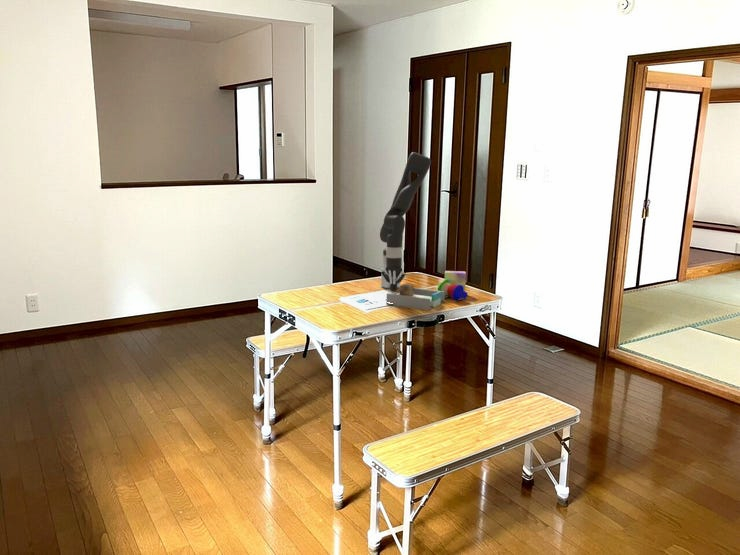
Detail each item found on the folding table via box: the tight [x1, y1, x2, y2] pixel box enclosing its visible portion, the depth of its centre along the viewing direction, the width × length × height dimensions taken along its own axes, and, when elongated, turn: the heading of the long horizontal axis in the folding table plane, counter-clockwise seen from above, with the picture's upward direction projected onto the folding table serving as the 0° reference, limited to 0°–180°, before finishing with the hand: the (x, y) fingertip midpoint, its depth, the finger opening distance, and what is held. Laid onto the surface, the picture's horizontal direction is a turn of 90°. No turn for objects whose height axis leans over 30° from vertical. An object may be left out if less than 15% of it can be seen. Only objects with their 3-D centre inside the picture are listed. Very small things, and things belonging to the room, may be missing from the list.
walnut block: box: [399, 283, 415, 296], centre depth 298 cm, size 5×5×5 cm
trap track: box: [386, 287, 446, 311], centre depth 297 cm, size 22×18×6 cm
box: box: [444, 270, 467, 292], centre depth 313 cm, size 10×6×12 cm, turn 84°
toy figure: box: [437, 279, 468, 302], centre depth 304 cm, size 9×10×15 cm
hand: (393, 291), depth 302 cm, fingers closed
